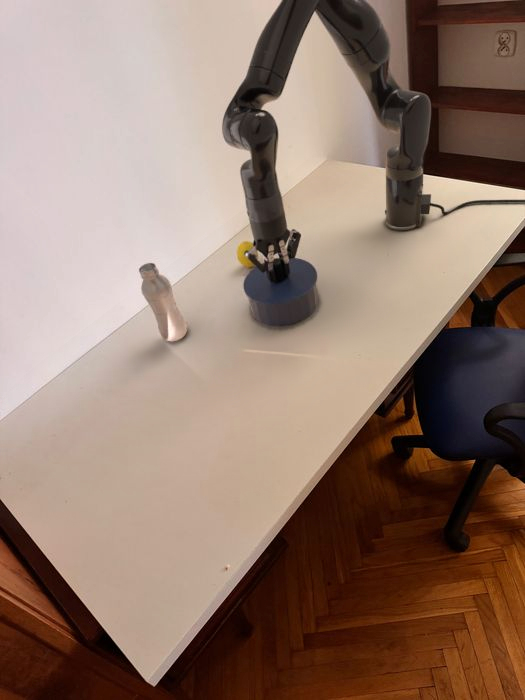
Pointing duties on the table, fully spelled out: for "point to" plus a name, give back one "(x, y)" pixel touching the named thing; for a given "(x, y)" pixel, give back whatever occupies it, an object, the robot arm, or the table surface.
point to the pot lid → (281, 283)
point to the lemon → (240, 253)
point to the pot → (286, 310)
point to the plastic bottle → (162, 303)
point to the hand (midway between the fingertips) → (279, 278)
